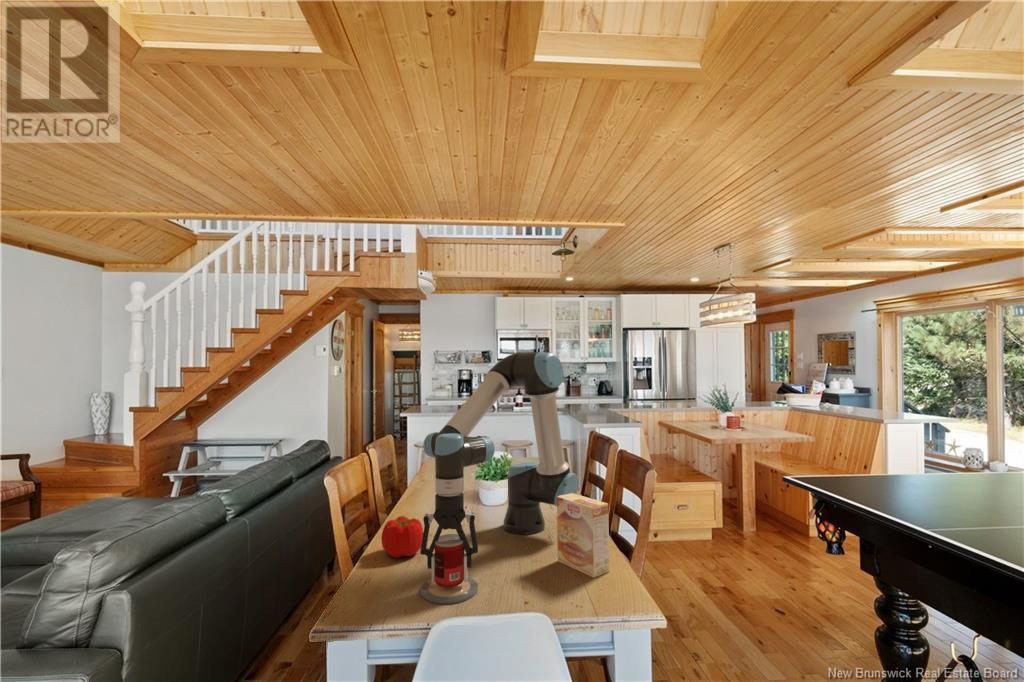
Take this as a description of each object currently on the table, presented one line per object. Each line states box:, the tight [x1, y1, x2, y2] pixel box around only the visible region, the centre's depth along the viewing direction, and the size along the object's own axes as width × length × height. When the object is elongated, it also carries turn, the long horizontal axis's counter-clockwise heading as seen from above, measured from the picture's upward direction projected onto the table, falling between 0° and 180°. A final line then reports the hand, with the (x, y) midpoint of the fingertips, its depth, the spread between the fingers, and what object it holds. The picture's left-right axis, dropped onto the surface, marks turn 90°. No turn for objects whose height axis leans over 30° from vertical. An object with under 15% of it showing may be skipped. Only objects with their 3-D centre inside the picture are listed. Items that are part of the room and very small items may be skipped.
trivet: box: [420, 576, 479, 605], centre depth 127 cm, size 15×15×1 cm
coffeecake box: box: [556, 493, 610, 579], centre depth 142 cm, size 15×7×20 cm, turn 37°
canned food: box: [434, 533, 465, 587], centre depth 128 cm, size 8×8×11 cm
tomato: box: [380, 515, 424, 559], centre depth 153 cm, size 14×13×10 cm
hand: (449, 579), depth 128 cm, fingers closed on canned food, 8 cm apart
